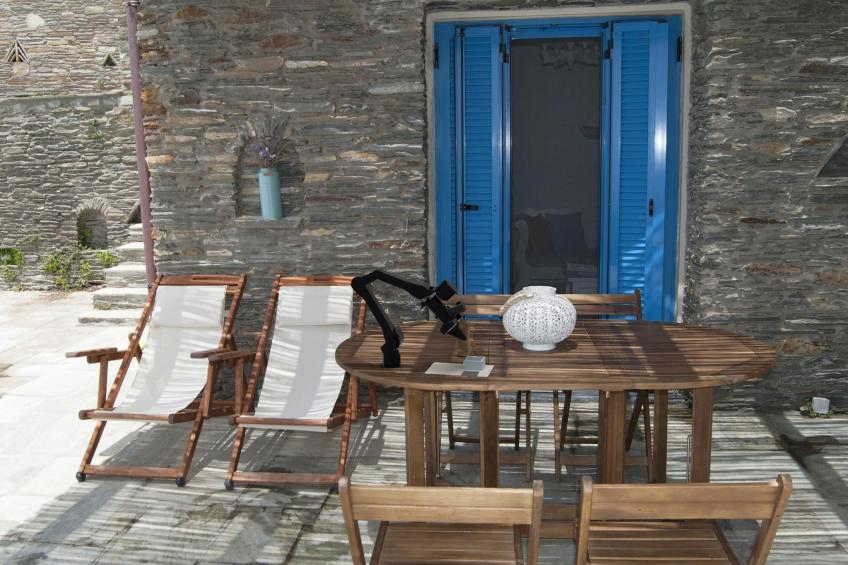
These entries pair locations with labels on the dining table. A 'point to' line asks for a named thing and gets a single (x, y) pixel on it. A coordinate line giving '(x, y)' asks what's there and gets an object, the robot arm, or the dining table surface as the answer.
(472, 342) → the lion figurine
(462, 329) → the walnut block
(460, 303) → the robot arm
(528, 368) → the dining table surface
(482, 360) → the sleeve
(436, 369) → the board
